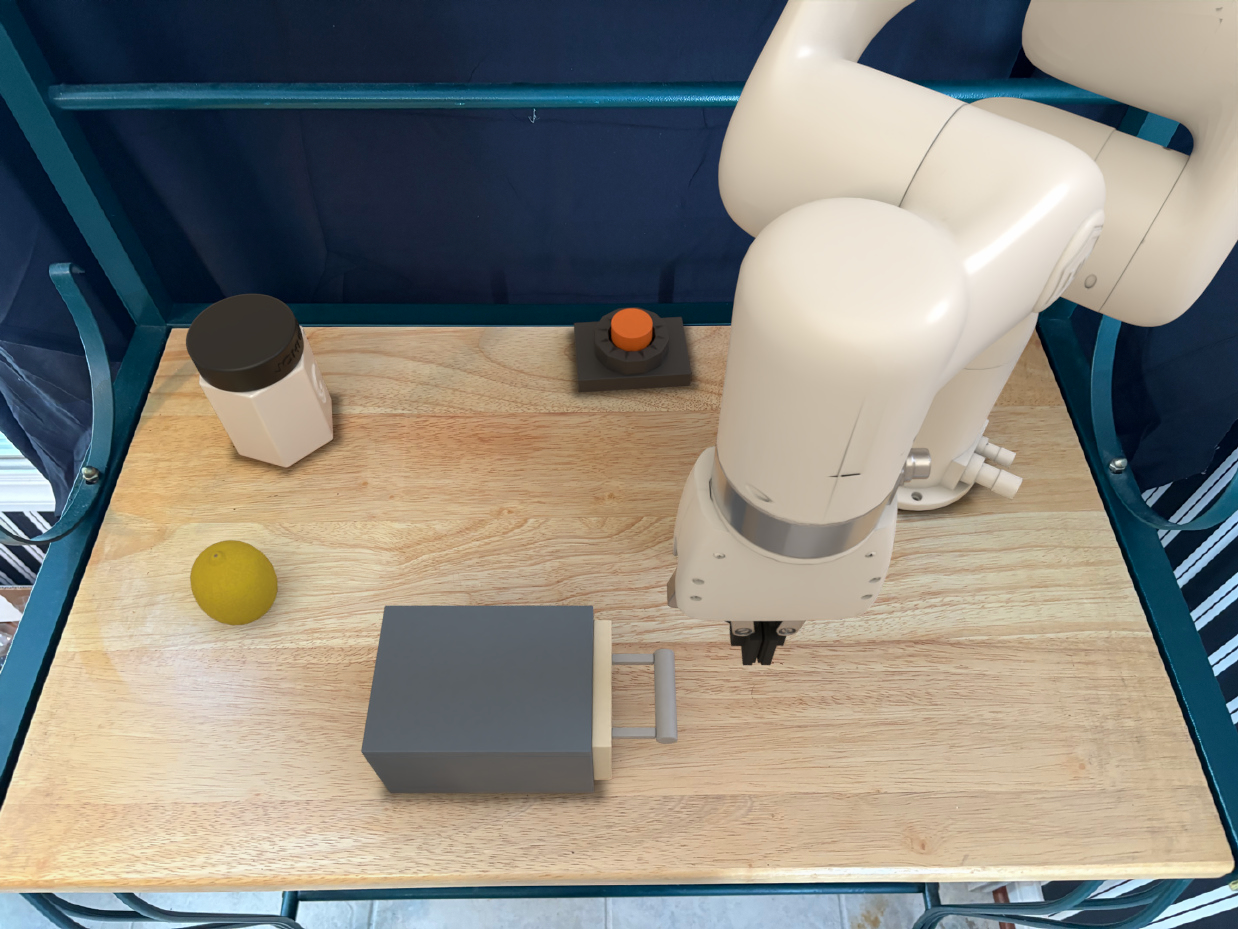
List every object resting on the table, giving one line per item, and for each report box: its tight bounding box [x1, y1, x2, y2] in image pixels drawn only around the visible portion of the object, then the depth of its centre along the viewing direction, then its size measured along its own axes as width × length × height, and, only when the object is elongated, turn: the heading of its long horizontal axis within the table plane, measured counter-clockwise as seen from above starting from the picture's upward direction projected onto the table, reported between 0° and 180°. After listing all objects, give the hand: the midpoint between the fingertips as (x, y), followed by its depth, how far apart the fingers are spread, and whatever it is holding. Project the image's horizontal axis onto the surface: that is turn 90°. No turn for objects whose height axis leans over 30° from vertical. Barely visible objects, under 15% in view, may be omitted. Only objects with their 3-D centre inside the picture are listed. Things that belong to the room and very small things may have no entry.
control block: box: [573, 306, 692, 393], centre depth 82 cm, size 10×7×4 cm
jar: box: [185, 293, 334, 469], centre depth 73 cm, size 9×8×12 cm
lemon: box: [189, 539, 279, 626], centre depth 65 cm, size 6×6×8 cm
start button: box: [611, 307, 653, 351], centre depth 80 cm, size 4×4×2 cm
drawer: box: [592, 619, 679, 781], centre depth 60 cm, size 17×8×7 cm, turn 90°
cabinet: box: [360, 605, 595, 794], centre depth 60 cm, size 14×10×9 cm
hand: (753, 641), depth 54 cm, fingers closed
